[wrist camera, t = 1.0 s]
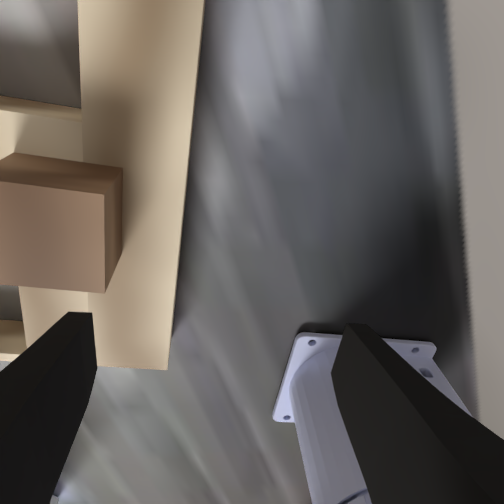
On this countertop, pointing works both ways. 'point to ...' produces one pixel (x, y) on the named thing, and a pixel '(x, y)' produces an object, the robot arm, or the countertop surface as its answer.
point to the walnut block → (59, 223)
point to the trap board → (134, 169)
